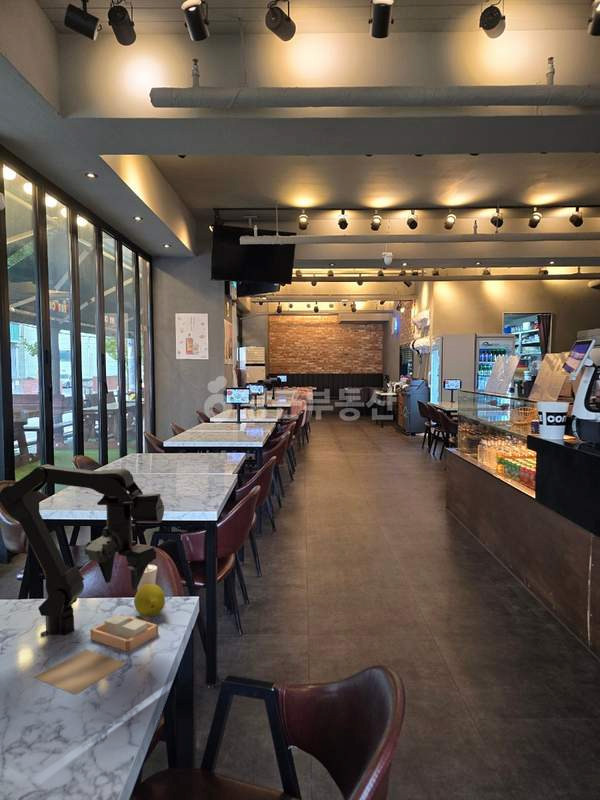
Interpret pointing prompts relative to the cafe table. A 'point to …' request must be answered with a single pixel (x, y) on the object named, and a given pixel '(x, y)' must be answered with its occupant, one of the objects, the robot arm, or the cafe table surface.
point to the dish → (122, 643)
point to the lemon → (149, 600)
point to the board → (80, 671)
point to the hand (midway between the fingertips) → (121, 585)
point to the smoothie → (148, 576)
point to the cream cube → (133, 629)
